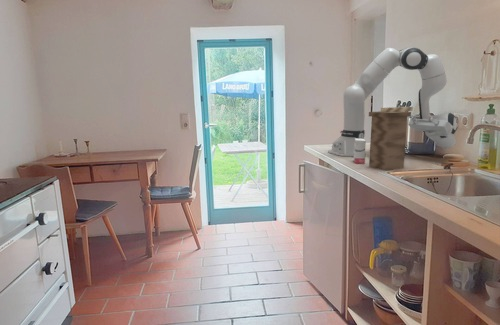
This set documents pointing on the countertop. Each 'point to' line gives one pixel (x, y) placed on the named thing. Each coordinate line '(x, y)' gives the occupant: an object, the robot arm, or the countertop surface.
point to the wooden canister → (388, 139)
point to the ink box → (359, 151)
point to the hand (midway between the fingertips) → (421, 118)
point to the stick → (396, 109)
